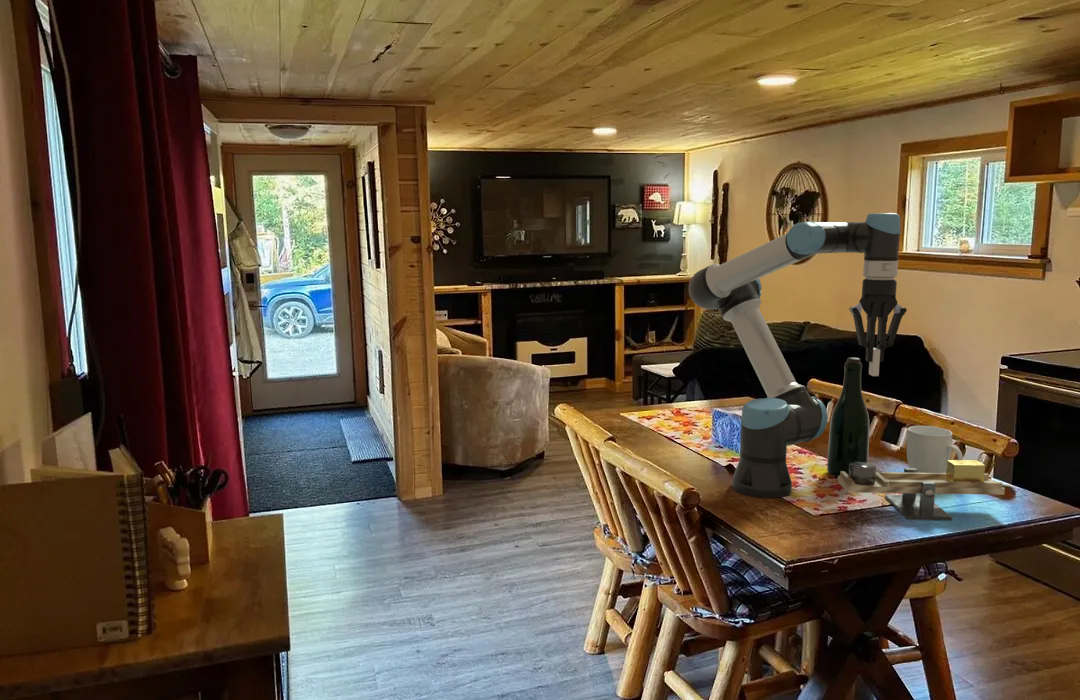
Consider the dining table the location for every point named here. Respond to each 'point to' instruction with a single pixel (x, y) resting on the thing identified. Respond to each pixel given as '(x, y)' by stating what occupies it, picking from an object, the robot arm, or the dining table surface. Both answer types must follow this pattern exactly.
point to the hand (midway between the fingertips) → (873, 374)
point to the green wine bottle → (849, 423)
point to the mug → (930, 449)
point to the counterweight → (862, 473)
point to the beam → (912, 484)
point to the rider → (965, 470)
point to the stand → (919, 503)
